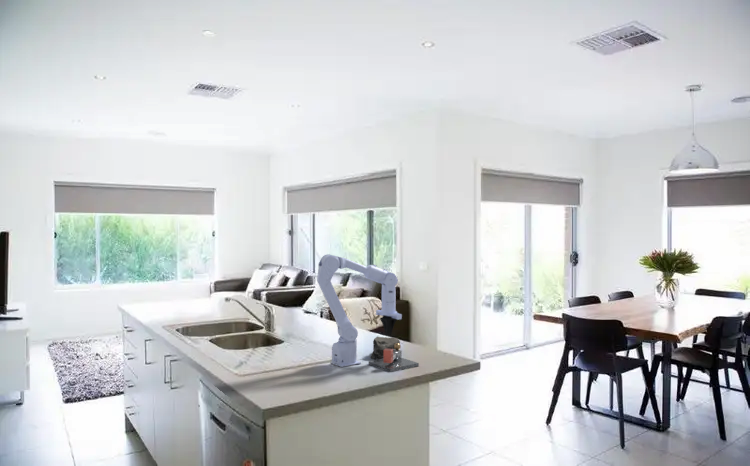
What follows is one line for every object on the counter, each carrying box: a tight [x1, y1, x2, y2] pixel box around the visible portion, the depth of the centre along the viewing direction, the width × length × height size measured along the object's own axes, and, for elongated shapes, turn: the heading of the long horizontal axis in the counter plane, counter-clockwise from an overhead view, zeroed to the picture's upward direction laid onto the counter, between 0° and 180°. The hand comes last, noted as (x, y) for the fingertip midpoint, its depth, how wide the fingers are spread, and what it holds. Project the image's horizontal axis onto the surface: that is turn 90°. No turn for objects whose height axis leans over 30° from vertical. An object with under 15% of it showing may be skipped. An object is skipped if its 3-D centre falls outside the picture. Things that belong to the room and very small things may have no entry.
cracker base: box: [368, 343, 420, 373], centre depth 204 cm, size 14×14×7 cm
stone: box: [369, 336, 401, 360], centre depth 221 cm, size 18×9×10 cm
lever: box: [383, 349, 398, 363], centre depth 204 cm, size 12×3×5 cm, turn 162°
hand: (388, 334), depth 212 cm, fingers closed
